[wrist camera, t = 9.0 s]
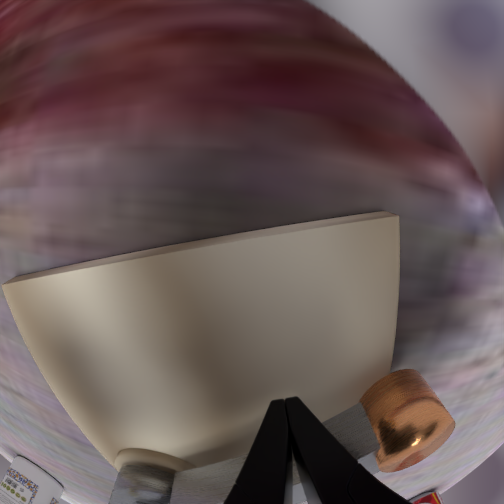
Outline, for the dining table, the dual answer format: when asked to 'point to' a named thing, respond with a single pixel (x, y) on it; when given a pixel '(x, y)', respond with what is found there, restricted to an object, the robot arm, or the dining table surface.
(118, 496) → the crank lever
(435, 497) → the soda can
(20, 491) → the bath foam
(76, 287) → the pivot plate
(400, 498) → the robot arm
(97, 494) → the dining table surface
